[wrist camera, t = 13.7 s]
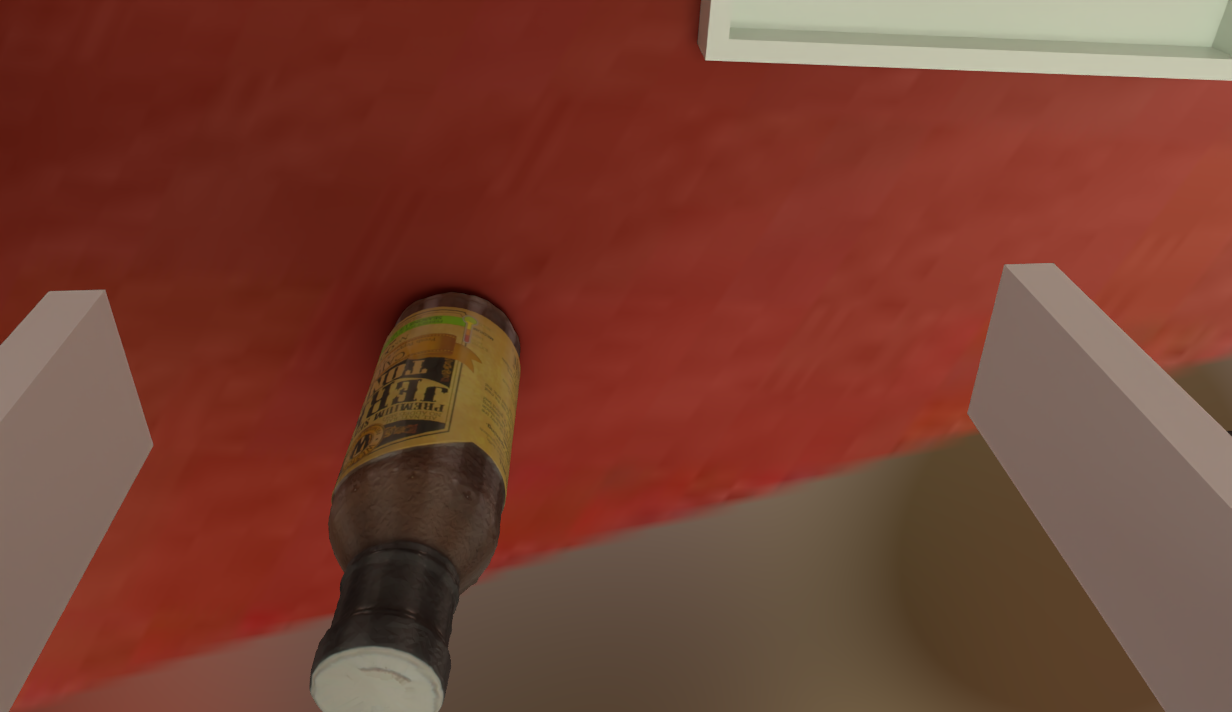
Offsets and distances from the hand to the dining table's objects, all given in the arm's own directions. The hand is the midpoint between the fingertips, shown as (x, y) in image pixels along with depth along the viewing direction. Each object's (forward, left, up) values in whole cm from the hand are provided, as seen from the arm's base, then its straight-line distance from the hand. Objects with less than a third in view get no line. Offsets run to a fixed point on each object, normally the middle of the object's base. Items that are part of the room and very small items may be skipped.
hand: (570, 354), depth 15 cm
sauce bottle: (-5, -16, -27) cm, 32 cm away
